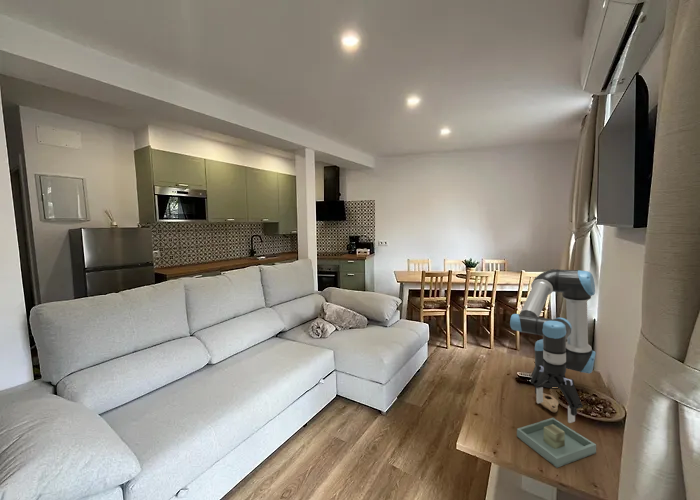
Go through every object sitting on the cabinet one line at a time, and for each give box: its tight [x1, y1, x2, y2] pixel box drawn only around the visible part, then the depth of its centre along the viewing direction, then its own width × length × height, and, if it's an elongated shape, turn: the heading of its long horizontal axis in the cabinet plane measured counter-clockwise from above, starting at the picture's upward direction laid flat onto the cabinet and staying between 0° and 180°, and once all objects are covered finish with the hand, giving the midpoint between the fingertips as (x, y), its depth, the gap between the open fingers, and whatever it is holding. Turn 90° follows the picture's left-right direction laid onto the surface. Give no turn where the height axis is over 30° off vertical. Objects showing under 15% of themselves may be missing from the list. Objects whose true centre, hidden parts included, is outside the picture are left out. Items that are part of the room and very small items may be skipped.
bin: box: [516, 417, 597, 469], centre depth 125 cm, size 20×18×4 cm
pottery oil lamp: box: [535, 392, 559, 413], centre depth 148 cm, size 9×12×7 cm
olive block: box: [544, 424, 565, 449], centre depth 124 cm, size 5×5×6 cm
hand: (554, 411), depth 124 cm, fingers open, 13 cm apart
